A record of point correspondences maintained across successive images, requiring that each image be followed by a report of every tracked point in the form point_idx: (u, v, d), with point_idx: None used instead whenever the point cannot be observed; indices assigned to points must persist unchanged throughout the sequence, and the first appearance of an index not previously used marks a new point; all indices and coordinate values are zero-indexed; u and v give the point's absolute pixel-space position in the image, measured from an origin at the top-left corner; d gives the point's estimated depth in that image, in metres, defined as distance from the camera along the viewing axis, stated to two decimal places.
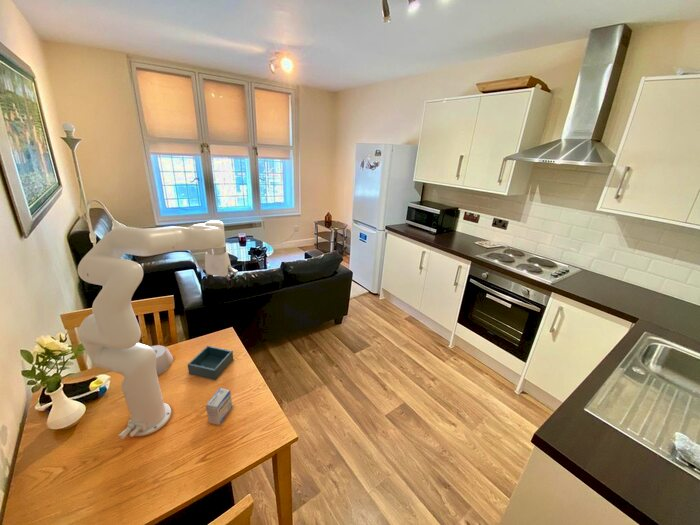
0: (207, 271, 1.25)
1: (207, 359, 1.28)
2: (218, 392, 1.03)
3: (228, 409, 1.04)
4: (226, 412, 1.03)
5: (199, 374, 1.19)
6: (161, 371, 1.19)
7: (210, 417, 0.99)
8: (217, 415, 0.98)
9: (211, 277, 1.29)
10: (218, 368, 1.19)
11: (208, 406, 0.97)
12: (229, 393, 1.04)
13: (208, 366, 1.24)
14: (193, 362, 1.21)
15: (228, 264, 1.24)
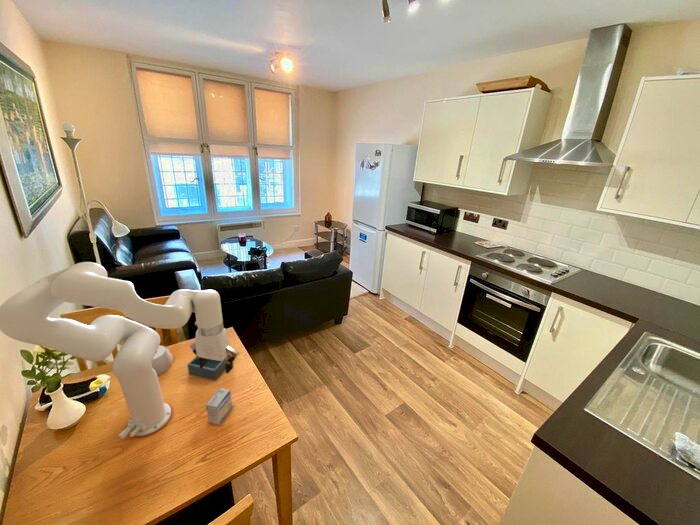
0: (198, 354, 0.95)
1: (207, 359, 1.28)
2: (218, 392, 1.03)
3: (228, 409, 1.04)
4: (226, 412, 1.03)
5: (199, 374, 1.19)
6: (161, 371, 1.19)
7: (210, 417, 0.99)
8: (217, 415, 0.98)
9: (204, 358, 0.99)
10: (218, 368, 1.19)
11: (208, 406, 0.97)
12: (229, 393, 1.04)
13: (208, 366, 1.24)
14: (193, 362, 1.21)
15: (226, 344, 0.94)
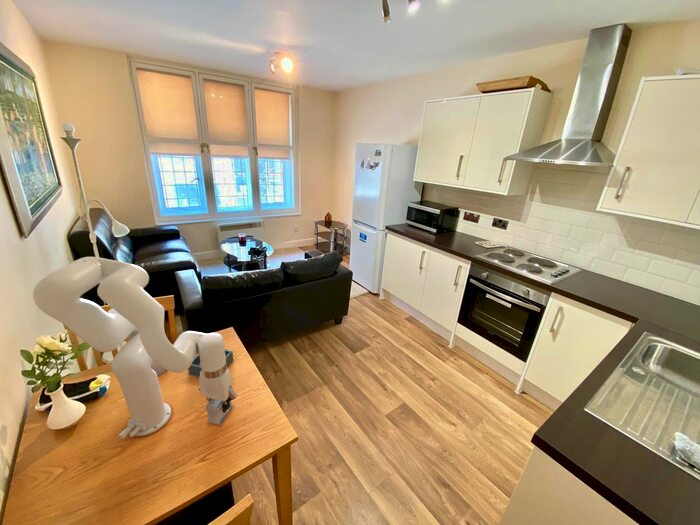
0: (202, 393, 0.97)
1: None
2: None
3: (228, 409, 1.04)
4: (226, 412, 1.03)
5: (199, 374, 1.19)
6: (161, 371, 1.19)
7: (210, 417, 0.99)
8: (218, 415, 0.98)
9: None
10: None
11: (208, 406, 0.97)
12: None
13: None
14: (193, 362, 1.21)
15: (229, 385, 0.97)
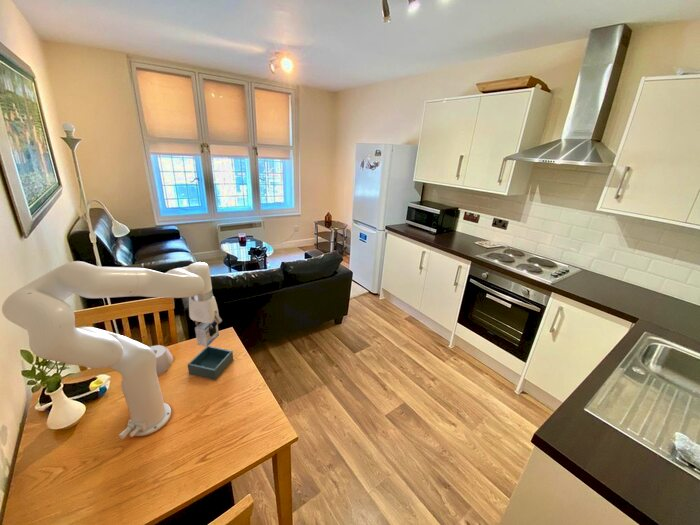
0: (191, 317, 1.12)
1: (207, 359, 1.28)
2: None
3: (215, 335, 1.19)
4: (213, 337, 1.17)
5: (199, 374, 1.19)
6: (161, 371, 1.19)
7: (198, 339, 1.14)
8: (205, 336, 1.12)
9: None
10: (218, 368, 1.19)
11: (197, 328, 1.12)
12: None
13: (208, 366, 1.24)
14: (193, 362, 1.21)
15: (215, 310, 1.11)
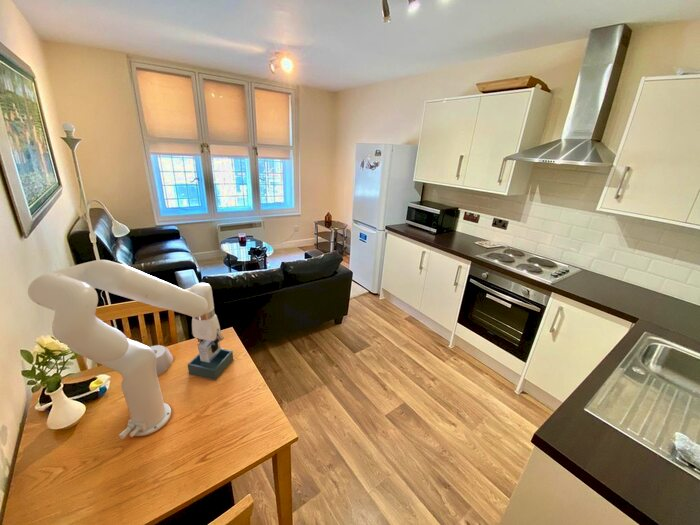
0: (194, 335, 1.16)
1: None
2: None
3: (217, 351, 1.23)
4: (215, 353, 1.22)
5: (199, 374, 1.19)
6: (161, 371, 1.19)
7: (201, 356, 1.19)
8: (207, 353, 1.17)
9: None
10: (218, 368, 1.19)
11: (200, 345, 1.16)
12: None
13: (208, 366, 1.24)
14: (193, 362, 1.21)
15: (217, 328, 1.16)
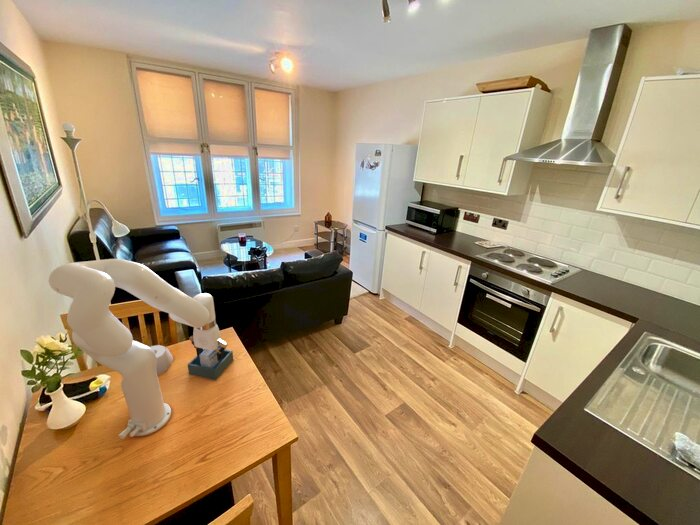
0: (196, 344, 1.18)
1: None
2: None
3: (218, 361, 1.25)
4: (216, 363, 1.24)
5: (199, 374, 1.19)
6: (161, 371, 1.19)
7: (202, 365, 1.20)
8: (209, 363, 1.19)
9: (200, 348, 1.23)
10: (218, 368, 1.19)
11: (201, 355, 1.18)
12: None
13: None
14: (193, 362, 1.21)
15: (218, 337, 1.18)
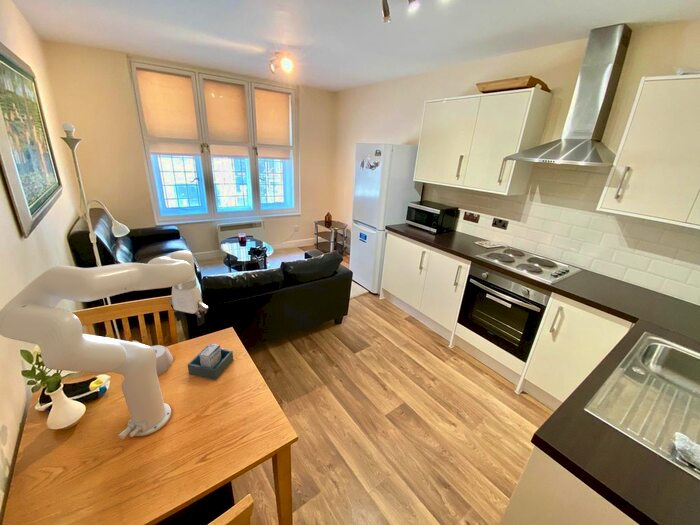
0: (174, 307, 1.10)
1: None
2: (209, 346, 1.24)
3: (218, 361, 1.25)
4: (216, 363, 1.24)
5: (199, 374, 1.19)
6: (161, 371, 1.19)
7: (202, 365, 1.20)
8: (209, 363, 1.19)
9: (180, 312, 1.15)
10: (218, 368, 1.19)
11: (201, 355, 1.18)
12: (219, 347, 1.25)
13: None
14: (193, 362, 1.21)
15: (198, 299, 1.10)
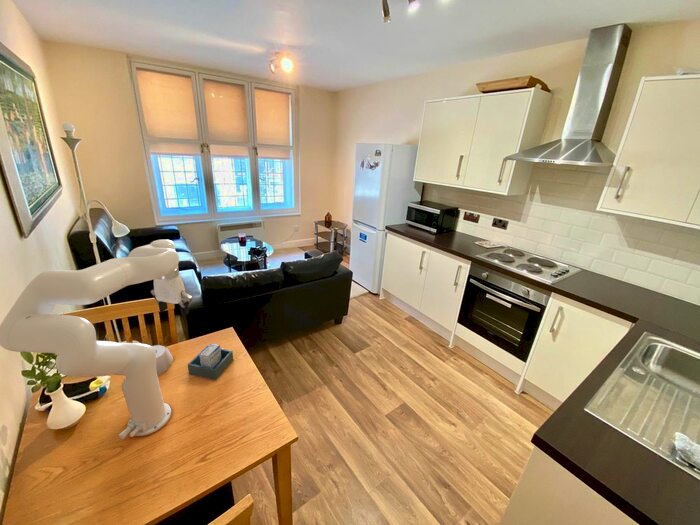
0: (157, 297, 1.08)
1: None
2: (209, 346, 1.24)
3: (218, 361, 1.25)
4: (216, 363, 1.24)
5: (199, 374, 1.19)
6: (161, 371, 1.19)
7: (202, 365, 1.20)
8: (209, 363, 1.19)
9: (164, 303, 1.12)
10: (218, 368, 1.19)
11: (201, 355, 1.18)
12: (219, 347, 1.25)
13: None
14: (193, 362, 1.21)
15: (181, 289, 1.07)
